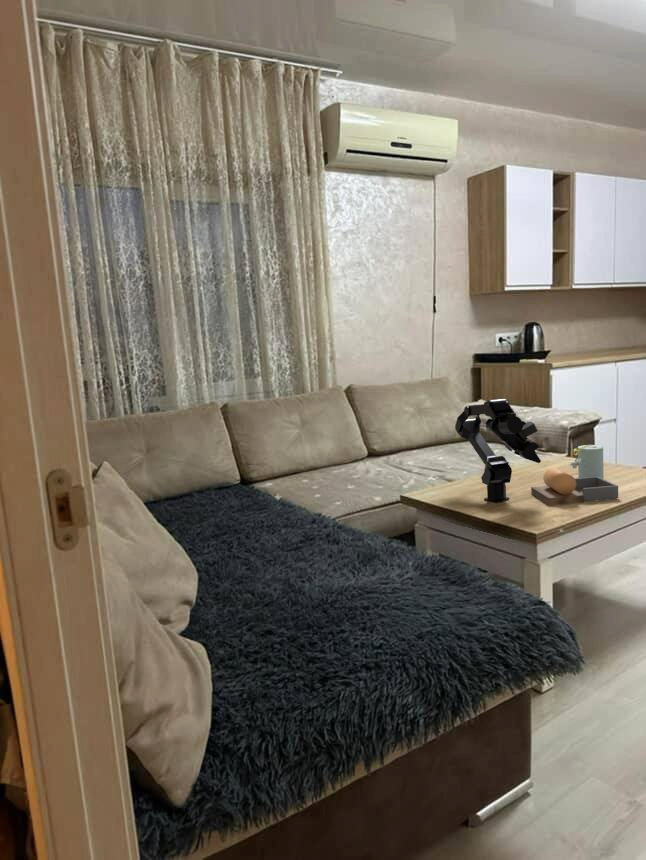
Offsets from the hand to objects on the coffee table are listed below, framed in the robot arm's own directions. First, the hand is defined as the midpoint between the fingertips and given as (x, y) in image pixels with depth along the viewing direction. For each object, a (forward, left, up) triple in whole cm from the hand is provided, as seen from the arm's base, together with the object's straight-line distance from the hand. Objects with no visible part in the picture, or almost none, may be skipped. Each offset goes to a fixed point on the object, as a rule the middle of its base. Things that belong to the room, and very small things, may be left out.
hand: (538, 461), depth 212 cm
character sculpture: (+33, +1, -14) cm, 36 cm away
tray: (+15, -10, -14) cm, 23 cm away
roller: (+6, -4, -8) cm, 10 cm away
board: (+5, -3, -14) cm, 15 cm away
